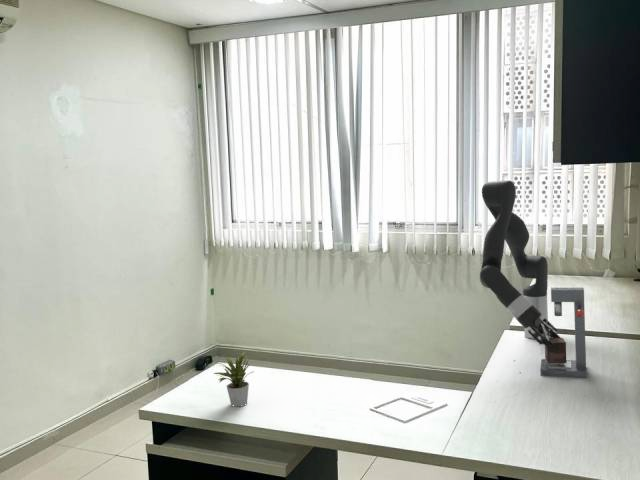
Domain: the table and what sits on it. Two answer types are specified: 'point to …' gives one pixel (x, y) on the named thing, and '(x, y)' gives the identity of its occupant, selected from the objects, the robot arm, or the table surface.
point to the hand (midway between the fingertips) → (559, 347)
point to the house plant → (236, 381)
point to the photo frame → (415, 399)
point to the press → (579, 365)
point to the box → (559, 354)
